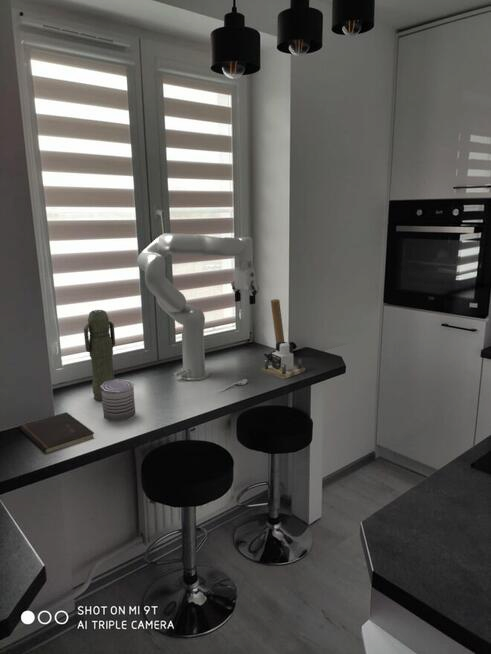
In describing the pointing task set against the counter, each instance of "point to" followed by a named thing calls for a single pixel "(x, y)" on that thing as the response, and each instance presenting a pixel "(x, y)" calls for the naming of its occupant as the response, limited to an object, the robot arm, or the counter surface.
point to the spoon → (233, 384)
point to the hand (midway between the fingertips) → (245, 302)
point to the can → (118, 400)
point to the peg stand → (283, 370)
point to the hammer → (278, 327)
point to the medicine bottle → (282, 357)
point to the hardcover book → (56, 432)
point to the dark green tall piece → (100, 349)
